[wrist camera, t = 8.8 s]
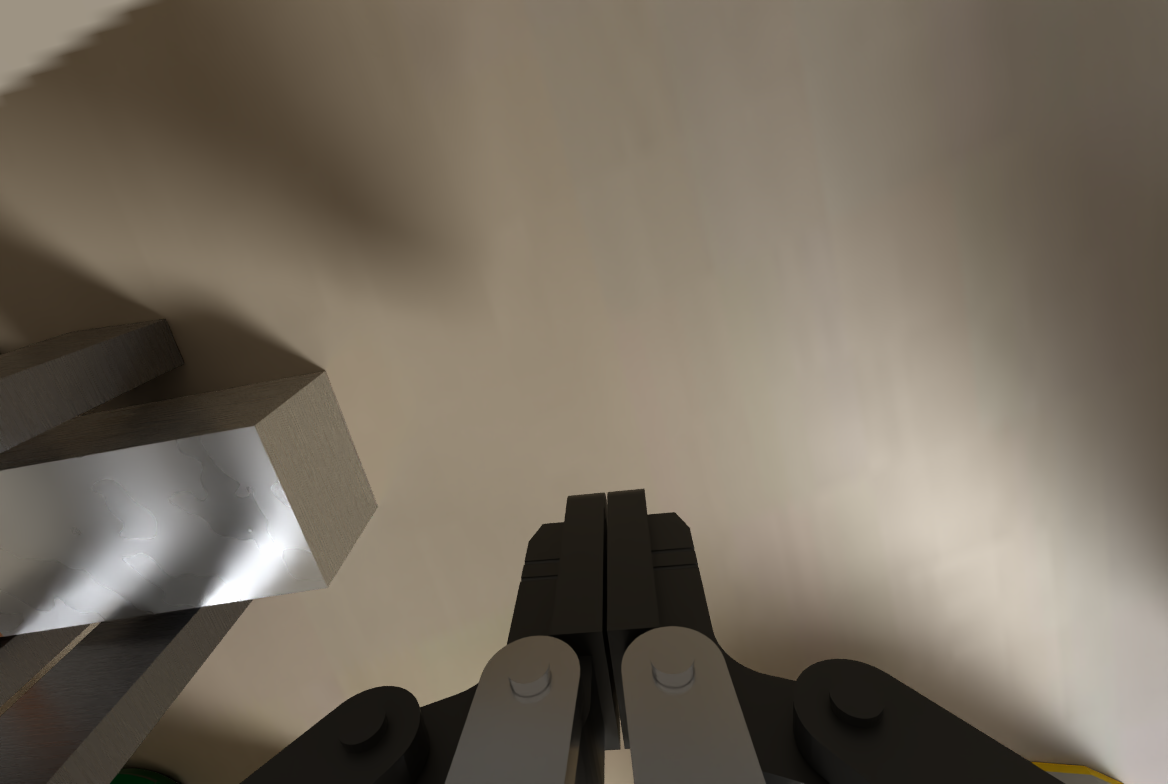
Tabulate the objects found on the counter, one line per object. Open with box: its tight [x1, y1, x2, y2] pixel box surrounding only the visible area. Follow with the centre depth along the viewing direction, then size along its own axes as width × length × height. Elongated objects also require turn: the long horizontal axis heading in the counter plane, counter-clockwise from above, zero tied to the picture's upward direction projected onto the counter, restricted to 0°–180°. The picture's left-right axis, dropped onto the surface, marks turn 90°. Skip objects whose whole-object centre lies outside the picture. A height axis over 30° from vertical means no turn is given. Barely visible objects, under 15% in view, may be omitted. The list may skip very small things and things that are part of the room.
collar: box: [0, 319, 253, 784], centre depth 14 cm, size 3×9×10 cm, turn 8°
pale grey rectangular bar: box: [0, 371, 378, 637], centre depth 17 cm, size 15×5×4 cm, turn 101°
